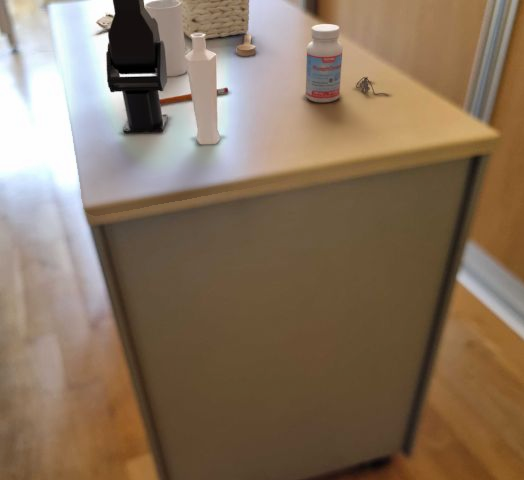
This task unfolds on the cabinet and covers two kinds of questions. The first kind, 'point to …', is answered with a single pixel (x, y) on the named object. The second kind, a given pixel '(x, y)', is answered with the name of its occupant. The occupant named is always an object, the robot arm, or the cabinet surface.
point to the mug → (170, 33)
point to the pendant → (366, 85)
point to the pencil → (187, 97)
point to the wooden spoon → (246, 46)
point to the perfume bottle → (203, 89)
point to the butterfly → (105, 21)
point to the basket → (215, 17)
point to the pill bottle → (324, 64)
